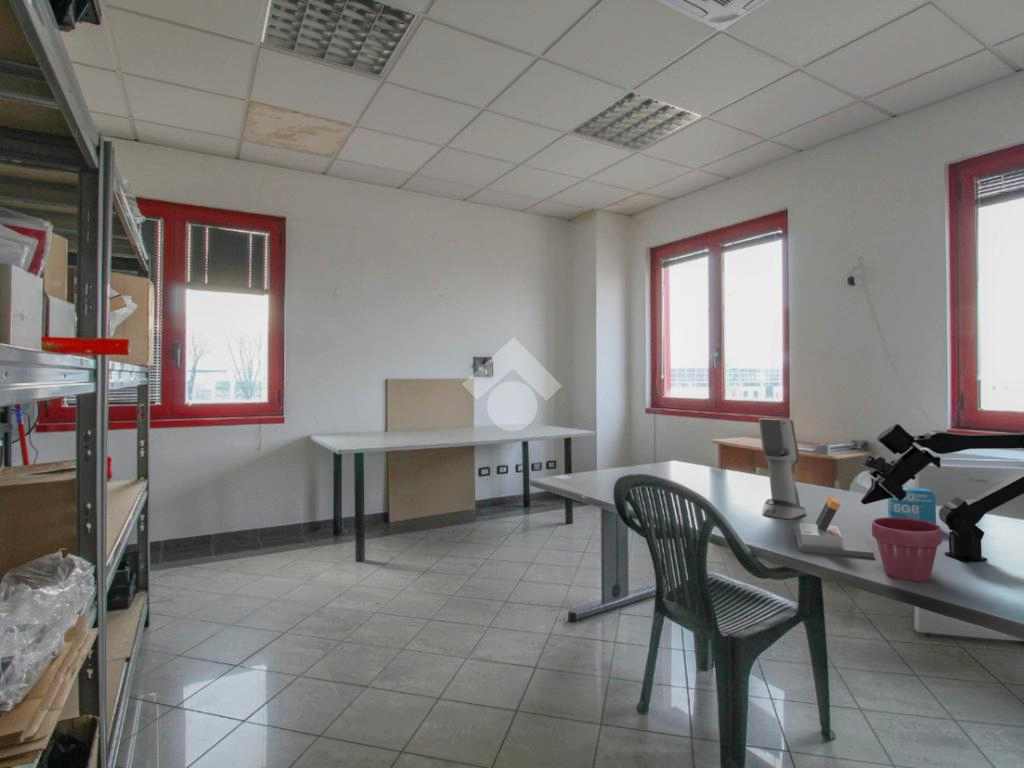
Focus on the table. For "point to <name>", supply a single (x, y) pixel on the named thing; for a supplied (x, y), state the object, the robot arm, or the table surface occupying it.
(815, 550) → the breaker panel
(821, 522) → the lever
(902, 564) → the plant pot
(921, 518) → the data package
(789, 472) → the handheld scanner
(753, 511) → the table surface
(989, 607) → the table surface
